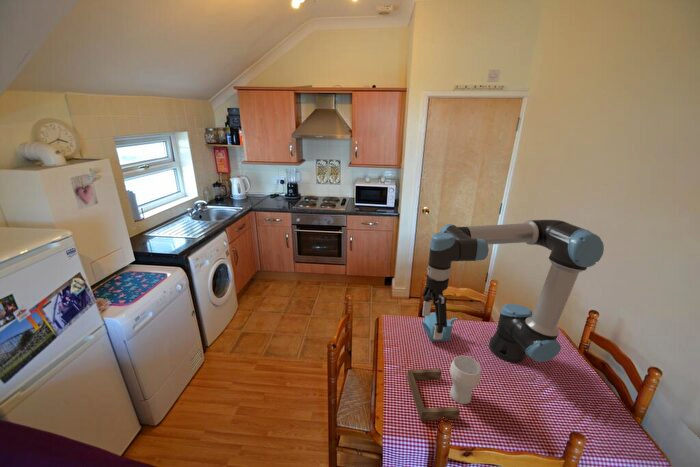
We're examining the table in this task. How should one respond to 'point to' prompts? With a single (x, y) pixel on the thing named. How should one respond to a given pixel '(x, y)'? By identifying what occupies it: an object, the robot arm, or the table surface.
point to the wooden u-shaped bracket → (423, 412)
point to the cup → (464, 378)
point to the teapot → (430, 327)
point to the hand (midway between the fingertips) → (431, 326)
